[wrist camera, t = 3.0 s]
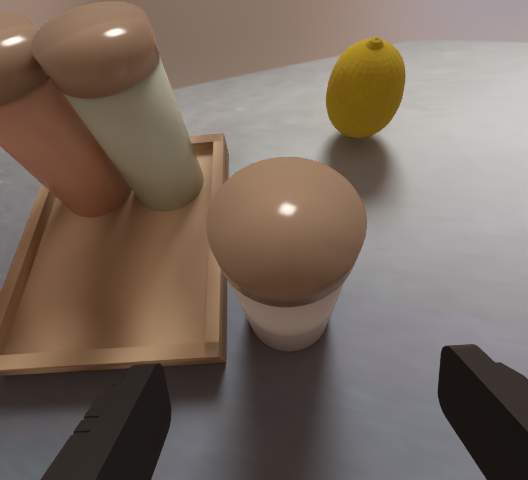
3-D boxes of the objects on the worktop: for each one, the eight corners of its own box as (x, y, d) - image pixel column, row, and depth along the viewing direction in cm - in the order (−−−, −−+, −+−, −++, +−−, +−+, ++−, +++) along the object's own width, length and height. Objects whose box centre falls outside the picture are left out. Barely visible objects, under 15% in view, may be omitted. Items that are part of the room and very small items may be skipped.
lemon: (327, 161, 26) (341, 69, 19) (317, 116, 29) (326, 20, 22) (394, 154, 26) (434, 59, 19) (378, 109, 28) (407, 11, 21)
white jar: (324, 268, 21) (350, 150, 12) (336, 350, 19) (383, 285, 9) (245, 273, 22) (209, 163, 12) (247, 356, 19) (202, 299, 9)
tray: (228, 153, 27) (223, 133, 25) (226, 362, 19) (218, 356, 17) (71, 167, 28) (54, 148, 26) (3, 375, 20) (-29, 371, 18)
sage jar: (206, 154, 25) (154, -5, 16) (203, 209, 23) (138, 60, 13) (140, 159, 25) (50, 7, 16) (130, 215, 23) (13, 73, 13)
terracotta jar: (139, 160, 25) (47, 7, 16) (128, 215, 23) (10, 73, 13) (74, 165, 26) (-54, 18, 16) (57, 221, 23) (-110, 85, 13)
